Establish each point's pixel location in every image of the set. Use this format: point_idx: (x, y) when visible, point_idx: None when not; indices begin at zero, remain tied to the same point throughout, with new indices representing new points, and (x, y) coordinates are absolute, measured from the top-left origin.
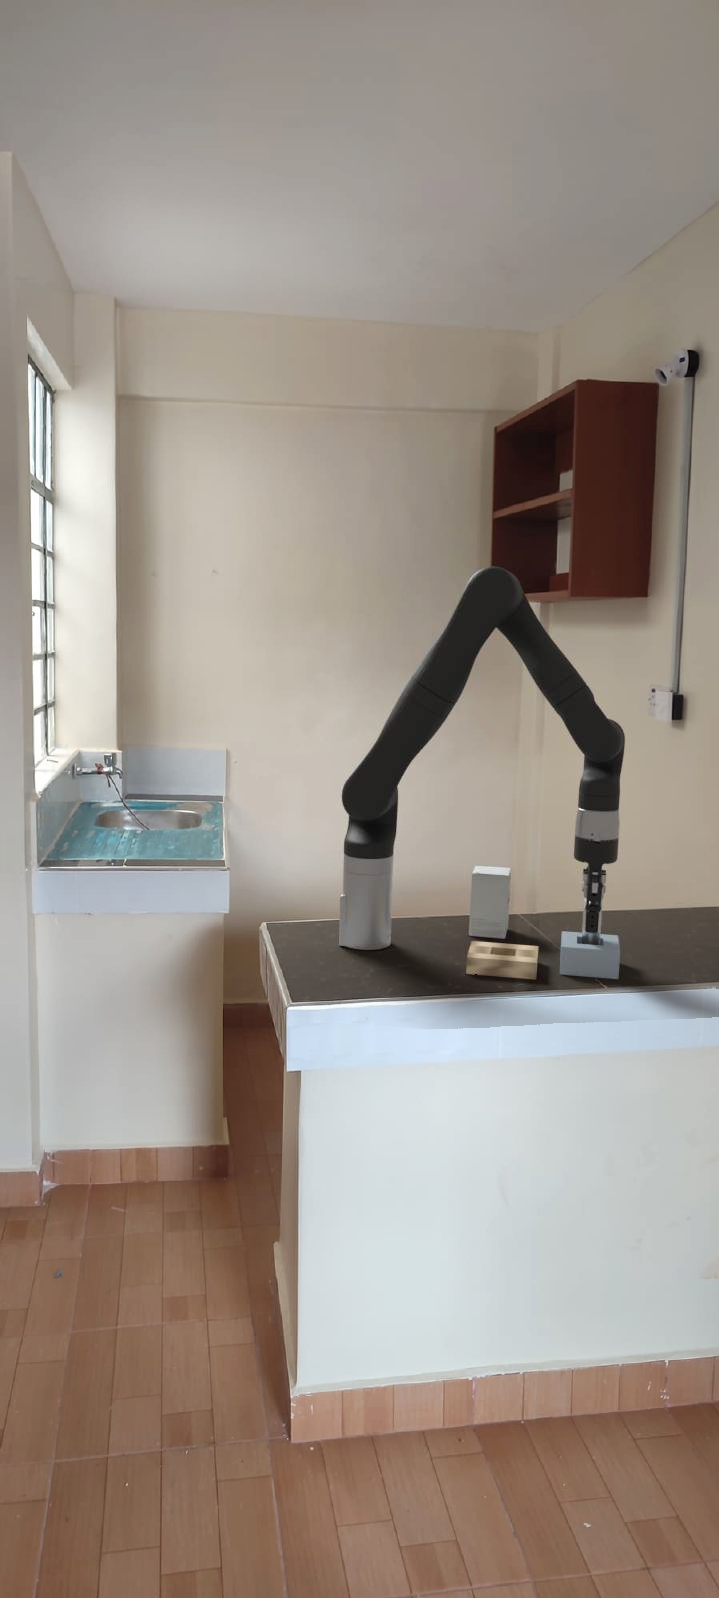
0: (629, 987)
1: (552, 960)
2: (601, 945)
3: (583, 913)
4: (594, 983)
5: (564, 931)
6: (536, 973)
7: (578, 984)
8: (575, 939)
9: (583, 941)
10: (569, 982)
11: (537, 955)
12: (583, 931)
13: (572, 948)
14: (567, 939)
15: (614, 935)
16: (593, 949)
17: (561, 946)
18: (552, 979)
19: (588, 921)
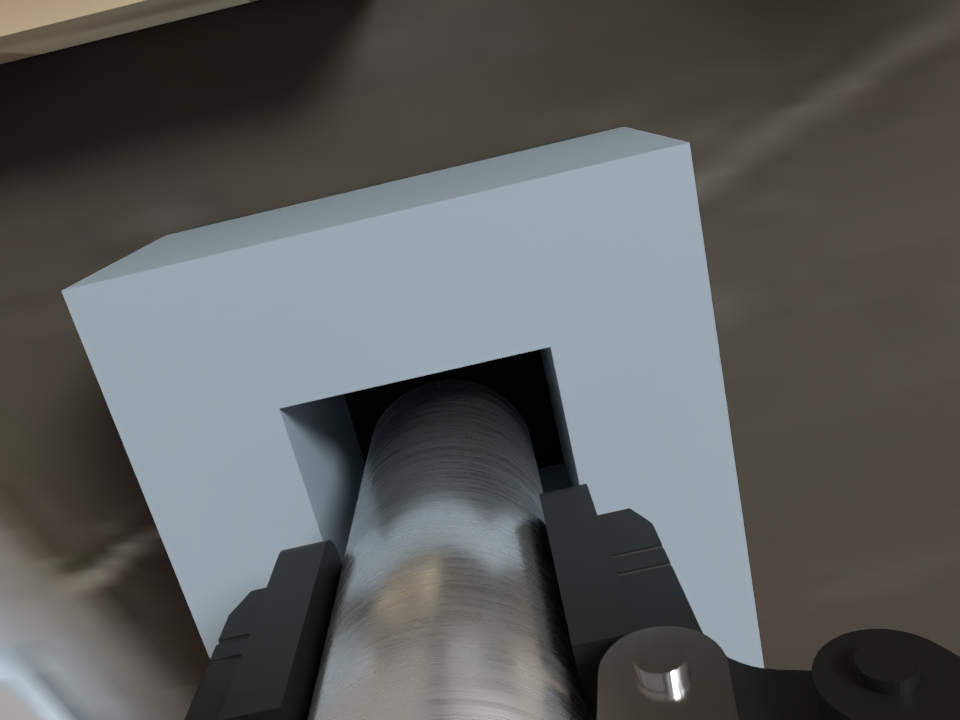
0: (176, 703)
1: (517, 81)
2: None
3: (382, 606)
4: (117, 505)
5: (690, 174)
6: (43, 52)
7: (22, 415)
8: (425, 359)
9: (376, 452)
10: (24, 348)
11: (37, 26)
12: (376, 494)
13: (108, 397)
14: (375, 284)
15: (750, 647)
16: (181, 581)
17: (73, 288)
18: (9, 212)
19: (205, 674)
